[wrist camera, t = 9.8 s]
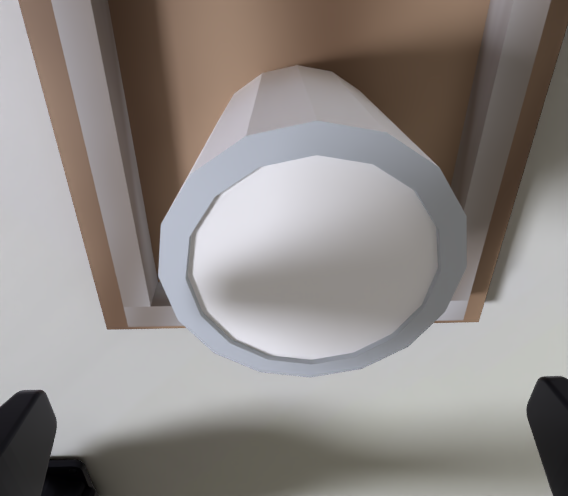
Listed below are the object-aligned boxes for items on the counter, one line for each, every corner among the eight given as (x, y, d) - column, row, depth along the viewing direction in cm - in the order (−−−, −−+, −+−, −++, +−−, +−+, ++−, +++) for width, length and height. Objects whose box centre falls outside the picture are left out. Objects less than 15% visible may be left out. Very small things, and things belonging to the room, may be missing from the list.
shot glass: (155, 99, 15) (88, 205, 10) (361, 3, 14) (428, 59, 8) (249, 260, 19) (241, 410, 13) (420, 196, 18) (497, 331, 12)
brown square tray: (114, 310, 22) (97, 355, 20) (-2, -150, 13) (-58, -166, 11) (469, 303, 22) (491, 347, 20) (593, -146, 13) (660, -160, 11)
